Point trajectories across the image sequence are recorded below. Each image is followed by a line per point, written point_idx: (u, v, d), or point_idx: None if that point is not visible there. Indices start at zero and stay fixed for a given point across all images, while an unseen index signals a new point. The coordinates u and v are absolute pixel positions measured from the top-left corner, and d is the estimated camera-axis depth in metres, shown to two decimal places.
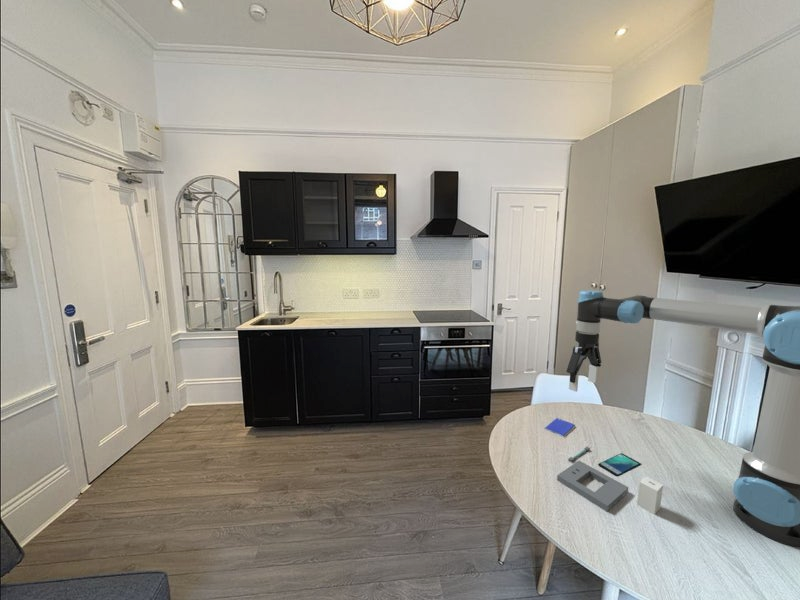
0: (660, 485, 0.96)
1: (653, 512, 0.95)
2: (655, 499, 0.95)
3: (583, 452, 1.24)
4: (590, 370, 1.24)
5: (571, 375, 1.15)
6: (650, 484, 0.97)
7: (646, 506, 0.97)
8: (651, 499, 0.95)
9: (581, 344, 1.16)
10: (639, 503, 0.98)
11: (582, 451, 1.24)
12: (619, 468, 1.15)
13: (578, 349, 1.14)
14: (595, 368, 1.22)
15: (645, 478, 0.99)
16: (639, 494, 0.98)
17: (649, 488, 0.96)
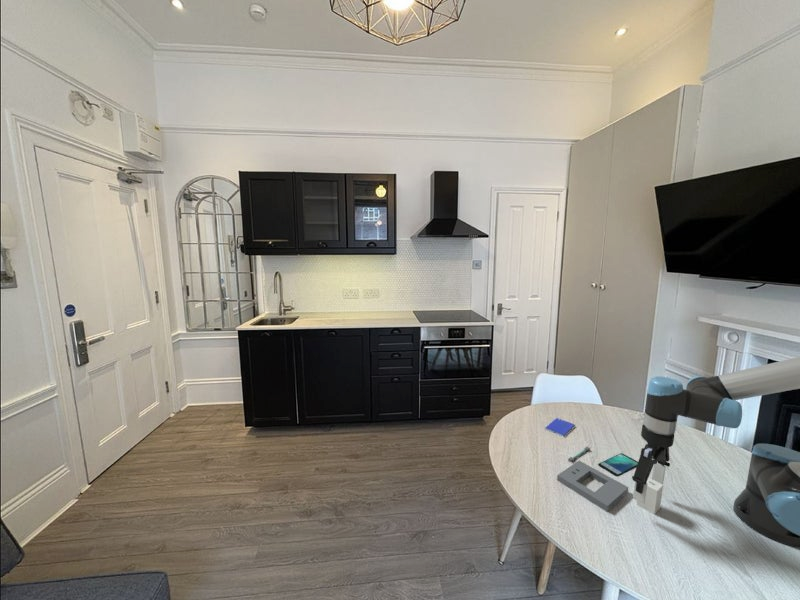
0: (660, 485, 0.96)
1: (653, 512, 0.95)
2: (655, 499, 0.95)
3: (583, 452, 1.24)
4: (655, 469, 1.01)
5: (638, 484, 0.93)
6: (650, 484, 0.97)
7: (646, 506, 0.97)
8: (651, 499, 0.95)
9: (651, 445, 0.93)
10: (639, 503, 0.98)
11: (582, 451, 1.24)
12: (619, 468, 1.15)
13: (649, 453, 0.91)
14: (663, 468, 0.99)
15: None
16: None
17: (649, 488, 0.96)
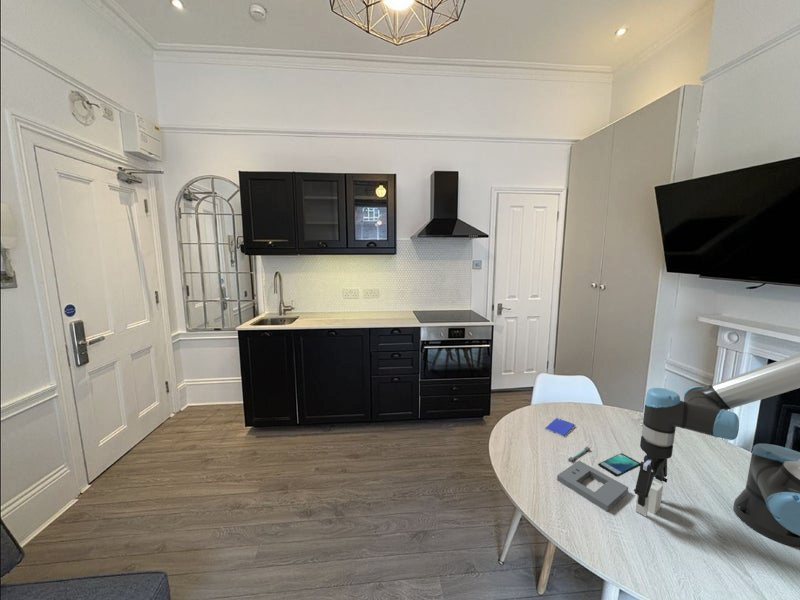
0: (660, 485, 0.96)
1: (653, 512, 0.95)
2: (655, 499, 0.95)
3: (583, 452, 1.24)
4: None
5: (640, 497, 0.94)
6: None
7: None
8: (651, 499, 0.95)
9: (650, 457, 0.93)
10: None
11: (582, 451, 1.24)
12: (619, 468, 1.15)
13: (648, 467, 0.92)
14: None
15: None
16: None
17: None
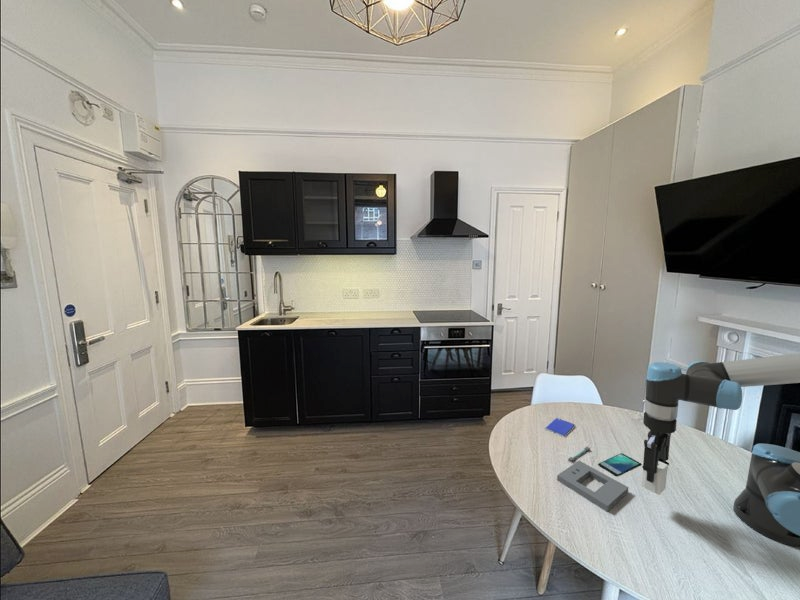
0: (664, 465, 0.95)
1: (658, 492, 0.94)
2: (660, 479, 0.93)
3: (583, 452, 1.24)
4: None
5: (649, 473, 0.94)
6: None
7: None
8: None
9: (654, 432, 0.92)
10: (644, 484, 0.97)
11: (582, 451, 1.24)
12: (619, 468, 1.15)
13: (652, 446, 0.90)
14: None
15: None
16: (643, 475, 0.97)
17: None
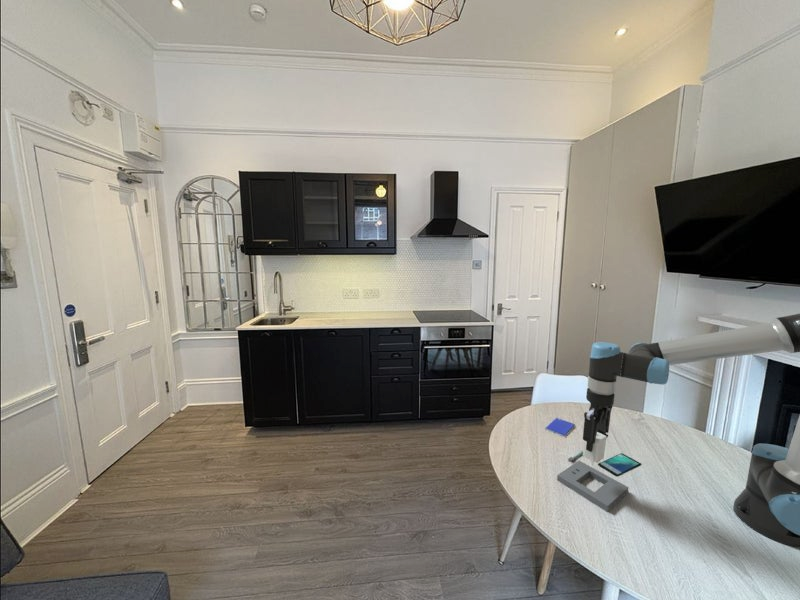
0: (603, 436, 1.03)
1: (596, 461, 1.02)
2: (597, 448, 1.02)
3: None
4: None
5: (588, 443, 1.02)
6: None
7: None
8: None
9: (593, 405, 1.00)
10: (584, 453, 1.05)
11: (582, 451, 1.24)
12: (619, 468, 1.15)
13: (590, 417, 0.98)
14: None
15: None
16: (584, 445, 1.05)
17: None
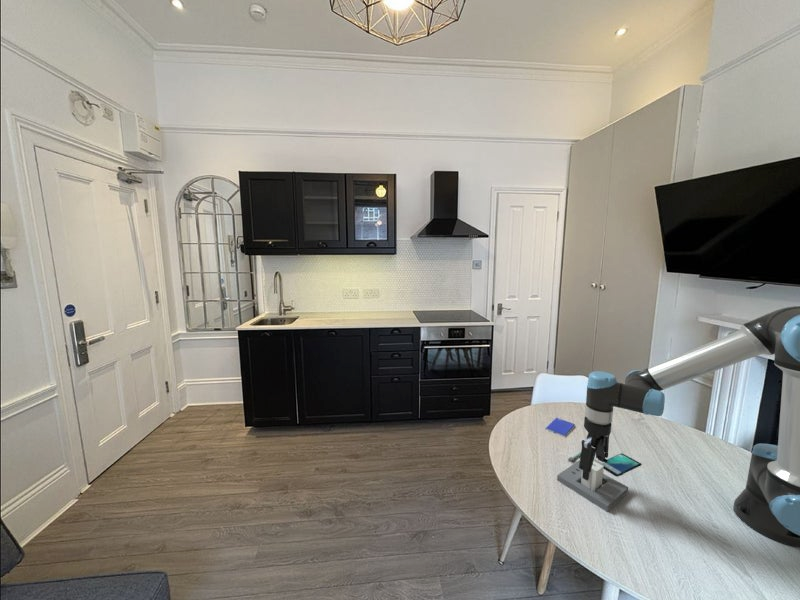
0: (601, 466, 1.05)
1: (594, 491, 1.04)
2: (595, 479, 1.03)
3: None
4: None
5: (584, 471, 1.03)
6: (592, 465, 1.05)
7: None
8: (592, 479, 1.04)
9: (591, 434, 1.01)
10: None
11: None
12: (619, 468, 1.15)
13: (587, 445, 1.00)
14: (601, 464, 1.07)
15: None
16: None
17: None
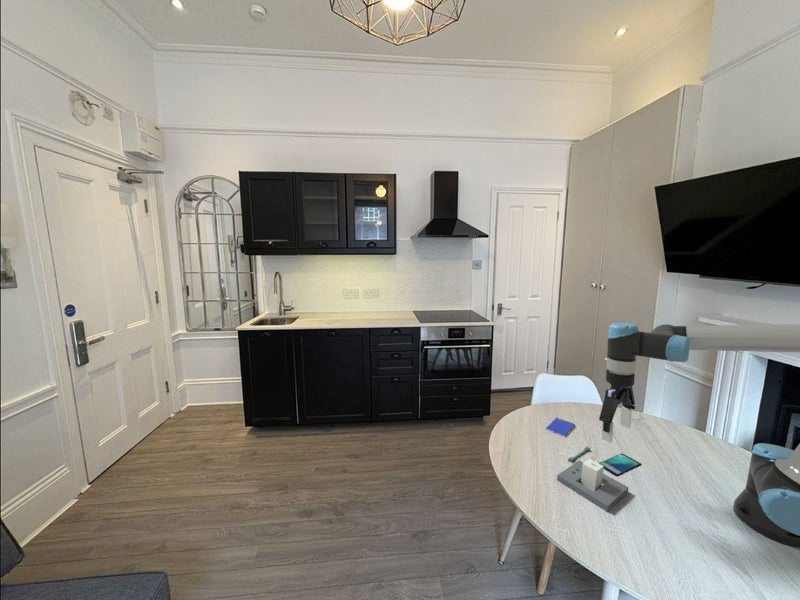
0: (601, 466, 1.05)
1: (594, 491, 1.04)
2: (595, 479, 1.03)
3: (583, 452, 1.24)
4: (623, 413, 1.07)
5: (605, 423, 0.98)
6: (592, 465, 1.05)
7: (588, 486, 1.05)
8: (592, 479, 1.04)
9: (614, 386, 0.99)
10: (582, 483, 1.07)
11: (582, 451, 1.24)
12: (619, 468, 1.15)
13: (612, 393, 0.97)
14: (629, 411, 1.06)
15: (588, 460, 1.08)
16: (582, 475, 1.07)
17: (590, 469, 1.04)
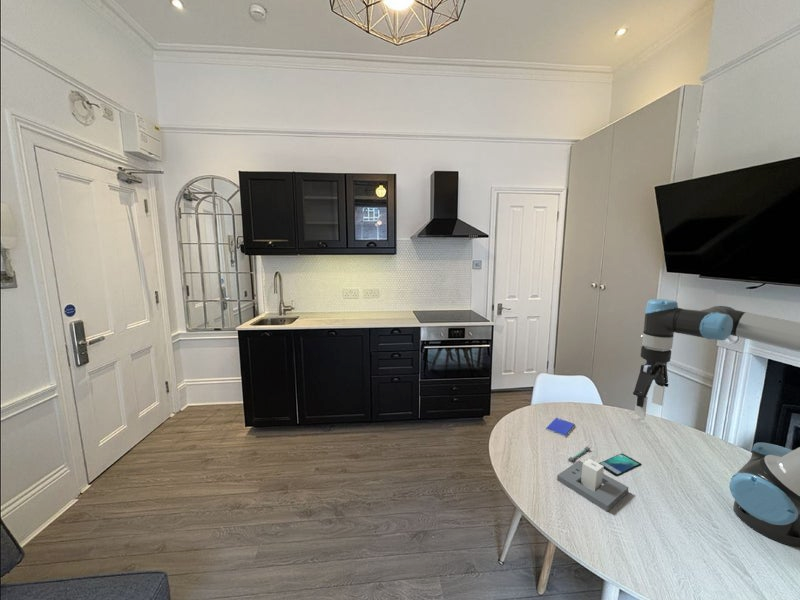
0: (601, 466, 1.05)
1: (594, 491, 1.04)
2: (595, 479, 1.03)
3: (583, 452, 1.24)
4: (655, 390, 1.08)
5: (639, 398, 0.99)
6: (592, 465, 1.05)
7: (588, 486, 1.05)
8: (592, 479, 1.04)
9: (650, 362, 1.00)
10: (582, 483, 1.07)
11: (582, 451, 1.24)
12: (618, 468, 1.15)
13: (648, 368, 0.98)
14: (662, 388, 1.06)
15: (588, 460, 1.08)
16: (582, 475, 1.07)
17: (590, 469, 1.04)
